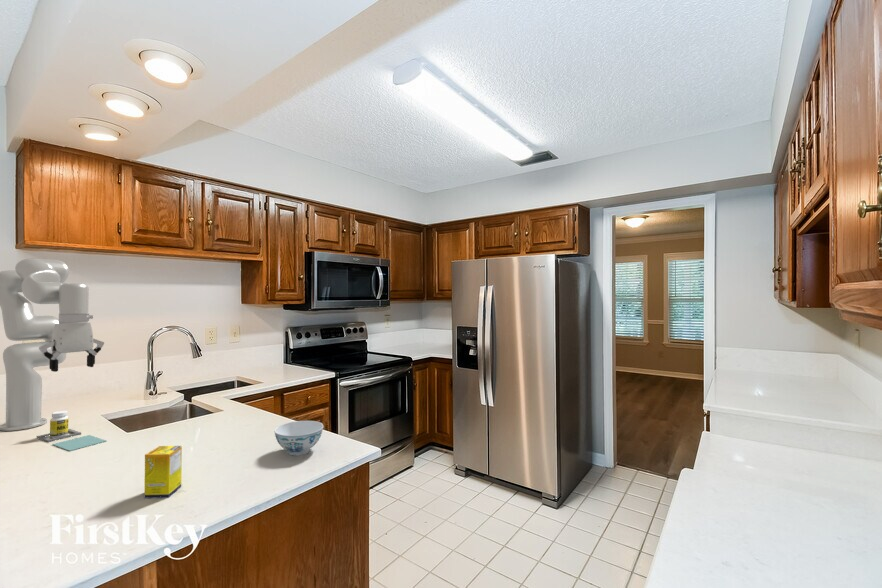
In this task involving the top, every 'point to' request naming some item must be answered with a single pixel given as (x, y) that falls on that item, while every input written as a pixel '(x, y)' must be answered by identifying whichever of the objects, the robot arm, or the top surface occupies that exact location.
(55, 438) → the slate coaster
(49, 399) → the top surface
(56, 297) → the robot arm
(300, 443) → the chinaware
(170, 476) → the supplement box
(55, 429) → the supplement bottle
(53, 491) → the top surface
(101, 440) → the teal mat
